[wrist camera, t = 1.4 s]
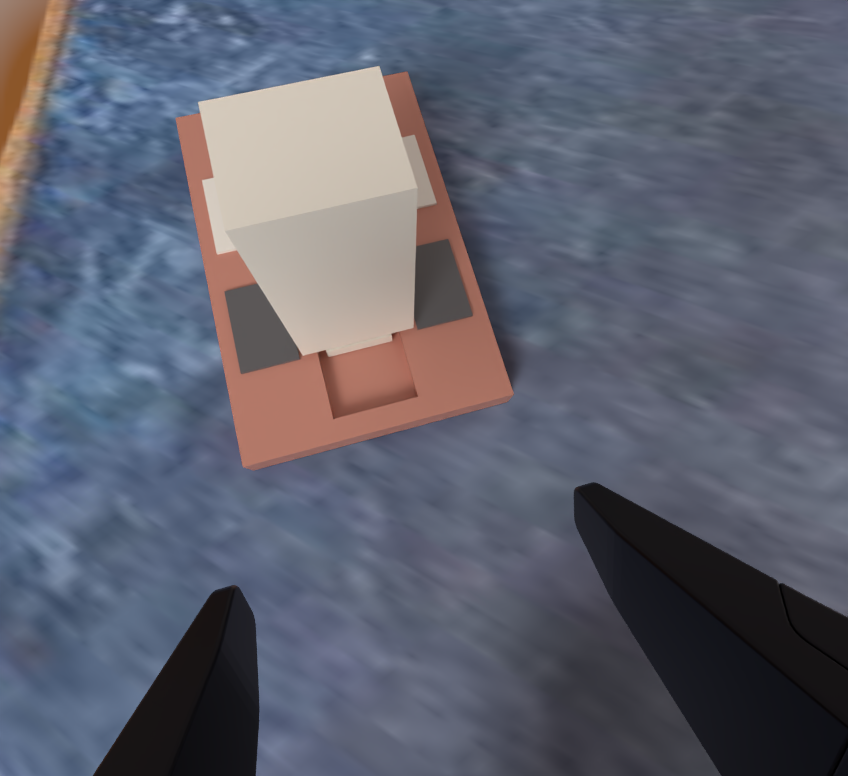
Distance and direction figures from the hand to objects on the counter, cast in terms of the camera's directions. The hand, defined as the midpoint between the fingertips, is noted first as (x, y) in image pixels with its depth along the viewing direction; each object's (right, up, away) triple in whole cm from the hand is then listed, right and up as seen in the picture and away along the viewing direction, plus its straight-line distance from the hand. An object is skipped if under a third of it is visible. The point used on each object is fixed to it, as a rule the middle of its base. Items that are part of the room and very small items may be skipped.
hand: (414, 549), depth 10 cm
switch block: (-4, +9, +16) cm, 19 cm away
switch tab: (-3, +6, +16) cm, 17 cm away
